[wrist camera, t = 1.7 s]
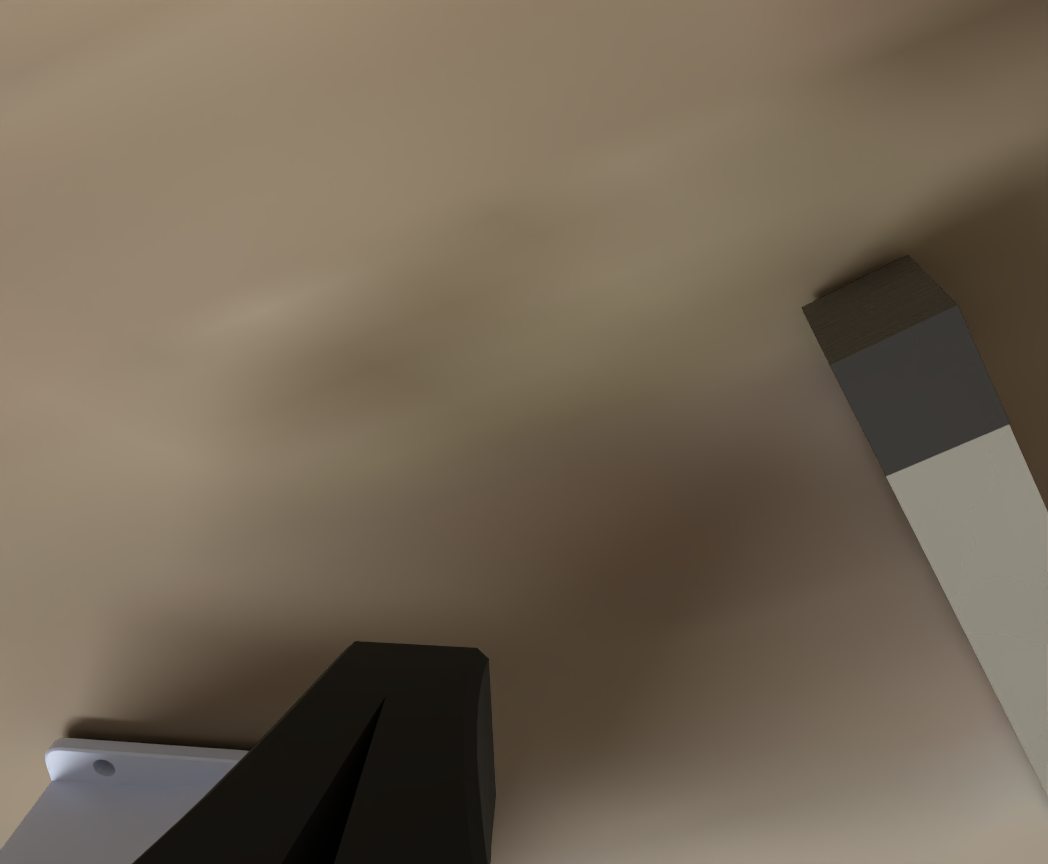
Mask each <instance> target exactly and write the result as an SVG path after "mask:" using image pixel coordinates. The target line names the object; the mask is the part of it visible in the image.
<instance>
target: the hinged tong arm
mask: <svg viewBox="0 0 1048 864" xmlns="http://www.w3.org/2000/svg"><path fill="white" fill-rule="evenodd" d="M802 310H803V312H804V314H805V316H806V318H807V320H808V322H809V324H810V326H811V328H812V330H813V332H814V334H815V336H816V338H817V340H818V342H819V344H820V346H821V348H822V350H823V352H824V354H825V356H826V359H827V361H828V363H829V365H830V367H831V369H832V371H833V373H834V375H835V376H836V378H837V380H838V382H839V384H840V386H841V388H842V390H843V392H844V394H845V396H846V398H847V400H848V402H849V404H850V406H851V408H852V410H853V412H854V414H855V416H856V418H857V420H858V422H859V424H860V426H861V428H862V430H863V432H864V434H865V436H866V438H867V440H868V442H869V444H870V446H871V448H872V450H873V452H874V454H875V456H876V458H877V460H878V462H879V464H880V466H881V468H882V470H883V472H884V474H885V476H886V477H887V479H888V481H889V483H890V485H891V487H892V489H893V491H894V493H895V495H896V497H897V499H898V501H899V503H900V505H901V507H902V509H903V511H904V513H905V515H906V517H907V519H908V521H909V523H910V525H911V527H912V529H913V531H914V533H915V535H916V537H917V539H918V541H919V543H920V545H921V547H922V549H923V551H924V553H925V555H926V557H927V559H928V561H929V563H930V565H931V567H932V569H933V571H934V572H935V574H936V576H937V578H938V580H939V582H940V584H941V586H942V588H943V590H944V592H945V594H946V596H947V598H948V600H949V602H950V604H951V606H952V608H953V610H954V612H955V614H956V616H957V618H958V620H959V622H960V624H961V626H962V628H963V630H964V632H965V634H966V636H967V638H968V640H969V642H970V644H971V646H972V648H973V650H974V652H975V654H976V656H977V658H978V660H979V662H980V664H981V666H982V668H983V670H984V671H985V673H986V675H987V677H988V679H989V681H990V683H991V685H992V687H993V689H994V691H995V693H996V695H997V697H998V699H999V701H1000V703H1001V705H1002V707H1003V709H1004V711H1005V713H1006V715H1007V717H1008V719H1009V721H1010V723H1011V725H1012V727H1013V729H1014V731H1015V733H1016V735H1017V737H1018V739H1019V741H1020V743H1021V745H1022V747H1023V749H1024V751H1025V753H1026V755H1027V757H1028V759H1029V761H1030V763H1031V765H1032V767H1033V769H1034V771H1035V772H1036V774H1037V776H1038V778H1039V780H1040V782H1041V784H1042V786H1043V788H1044V790H1045V792H1046V794H1047V796H1048V511H1047V509H1046V507H1045V505H1044V502H1043V500H1042V498H1041V496H1040V493H1039V491H1038V489H1037V486H1036V484H1035V482H1034V480H1033V477H1032V475H1031V473H1030V471H1029V468H1028V466H1027V464H1026V461H1025V459H1024V457H1023V455H1022V452H1021V450H1020V448H1019V446H1018V443H1017V441H1016V439H1015V437H1014V434H1013V432H1012V430H1011V427H1010V425H1009V424H1010V422H1009V420H1008V418H1007V416H1006V413H1005V411H1004V409H1003V407H1002V404H1001V402H1000V400H999V397H998V395H997V393H996V391H995V388H994V386H993V384H992V382H991V379H990V377H989V375H988V372H987V370H986V368H985V366H984V363H983V361H982V359H981V356H980V354H979V352H978V350H977V347H976V345H975V343H974V341H973V338H972V336H971V334H970V331H969V329H968V327H967V325H966V322H965V320H964V318H963V316H962V313H961V311H960V309H959V306H958V305H957V304H956V303H955V302H954V301H953V300H952V299H951V298H950V297H949V296H948V295H947V294H946V293H945V292H944V290H943V289H942V288H941V287H940V286H939V285H938V284H937V283H936V282H935V281H934V280H933V279H932V278H931V277H930V276H929V275H928V274H927V273H926V272H925V271H924V270H923V269H922V268H921V267H920V266H919V265H918V264H917V263H916V262H915V261H914V260H913V259H912V258H911V257H910V256H909V255H906V256H904V257H902V258H900V259H898V260H896V261H894V262H892V263H890V264H888V265H886V266H884V267H882V268H880V269H878V270H876V271H874V272H872V273H870V274H868V275H866V276H864V277H862V278H860V279H858V280H856V281H854V282H852V283H850V284H848V285H846V286H844V287H842V288H840V289H838V290H836V291H834V292H832V293H830V294H828V295H826V296H824V297H822V298H820V299H818V300H816V301H814V302H812V303H810V304H808V305H806V306H804V307H802Z"/></svg>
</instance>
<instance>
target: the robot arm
mask: <svg viewBox="0 0 1048 864" xmlns="http://www.w3.org/2000/svg"><path fill="white" fill-rule="evenodd" d="M45 762H46V765H47V768H48V771H49V774H50V777H51V780H52V782H51V783H50V784H49V786H48V787H47V788H46V790H45V791H44V793H43V794H42V795H41V797H40V798H39V799H38V801H37V802H36V803H35V805H34V806H33V807H32V809H31V810H30V811H29V813H28V814H27V815H26V817H25V818H24V819H23V821H22V822H21V823H20V825H19V826H18V827H17V829H16V830H15V831H14V833H13V834H12V835H11V837H10V838H9V839H8V841H7V842H6V843H5V845H4V846H3V847H2V849H1V850H0V864H490V862H491V841H492V829H493V819H494V808H495V798H496V789H495V770H494V751H493V732H492V713H491V694H490V675H489V659H488V658H487V657H486V656H485V655H484V654H483V653H482V652H481V651H480V650H479V649H477V648H467V647H449V646H431V645H413V644H395V643H377V642H359V641H355V642H354V643H353V644H352V645H350V646H349V647H348V648H347V649H346V650H345V651H344V652H343V653H342V654H341V655H340V656H339V657H338V658H337V659H336V660H335V661H334V662H333V663H332V664H331V666H330V667H329V668H328V669H327V670H326V671H325V672H324V673H323V674H322V675H321V676H320V677H319V678H318V679H317V681H316V682H315V683H314V684H313V685H312V686H311V687H310V688H309V689H308V690H307V691H306V692H305V693H304V694H303V696H302V697H301V698H300V699H299V700H298V701H297V702H296V703H295V704H294V705H293V706H292V707H291V708H290V709H289V710H288V711H287V713H286V714H285V715H284V716H283V717H282V718H281V719H280V720H279V721H278V722H277V723H276V724H275V725H274V726H273V727H272V728H271V729H270V730H269V731H268V732H267V733H266V735H265V736H264V737H263V738H262V739H261V740H260V741H259V742H258V743H257V744H256V745H255V746H254V747H253V748H252V749H251V750H250V751H245V750H231V749H217V748H203V747H189V746H175V745H161V744H147V743H133V742H119V741H105V740H91V739H76V738H61V739H58V740H57V741H55V742H54V743H53V744H52V746H51V747H50V748H49V750H48V751H47V753H46V755H45Z"/></svg>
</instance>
